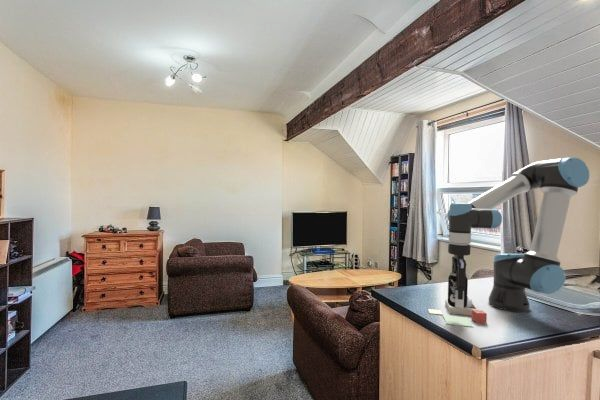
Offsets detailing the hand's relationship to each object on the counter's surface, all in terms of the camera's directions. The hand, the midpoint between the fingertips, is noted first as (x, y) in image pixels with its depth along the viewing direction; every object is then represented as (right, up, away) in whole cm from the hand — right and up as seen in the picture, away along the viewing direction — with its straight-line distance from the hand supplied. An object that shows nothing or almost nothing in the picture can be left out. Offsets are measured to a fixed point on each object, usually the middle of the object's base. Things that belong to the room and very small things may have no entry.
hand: (457, 304), depth 121 cm
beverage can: (0, -1, 0) cm, 1 cm away
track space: (-5, -6, +9) cm, 12 cm away
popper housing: (+8, -6, +12) cm, 16 cm away
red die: (+9, -7, +1) cm, 11 cm away
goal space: (0, -6, 0) cm, 6 cm away
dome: (+8, -5, +12) cm, 15 cm away
